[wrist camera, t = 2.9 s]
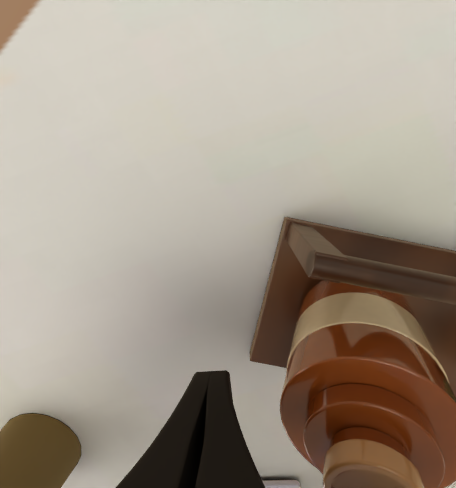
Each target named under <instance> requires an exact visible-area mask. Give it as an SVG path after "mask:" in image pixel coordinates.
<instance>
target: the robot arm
mask: <svg viewBox="0 0 456 488" xmlns="http://www.w3.org/2000/svg"><path fill="white" fill-rule="evenodd" d="M116 488H301V486H300V483H299V482H298V481H297V480H266V481H262V479H261V477H260V475H259V473H258V471H257V469H256V466H255V464H254V462H253V459H252V457H251V455H250V452H249V450H248V447H247V445H246V442H245V440H244V437H243V434H242V431H241V429H240V426H239V423H238V419H237V416H236V412H235V409H234V405H233V399H232V391H231V382H230V374H229V372H228V371H226V370H225V371H207V372H196V373H195V374H194V376H193V378H192V380H191V382H190V384H189V386H188V388H187V389H186V391H185V393H184V395H183V397H182V398H181V400H180V402H179V403H178V405H177V407H176V408H175V410H174V411H173V413H172V415H171V416H170V418H169V419H168V421H167V422H166V424H165V425H164V427H163V428H162V430H161V431H160V433H159V434H158V436H157V437H156V438H155V440H154V441H153V443H152V444H151V445H150V447H149V448H148V449H147V451H146V452H145V453H144V455H143V456H142V457H141V458H140V460H139V461H138V462H137V463H136V465H135V466H134V467H133V468H132V469H131V471H130V472H129V473H128V474H127V475H126V476H125V478H124V479H123V480H122V481H121V482H120V483H119V485H118V486H117V487H116Z"/></svg>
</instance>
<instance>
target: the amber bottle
mask: <svg viewBox="0 0 456 488" xmlns="http://www.w3.org/2000/svg"><path fill="white" fill-rule="evenodd" d="M280 414H281V420H282V423H283V426H284V429H285V431H286V433H287V436H288V437H289V439H290V441H291V442H292V444H293V445H294V446H295V448H296V449H297V450H298V451H299V452H300V454H301V455H302V456H303V457H304V458H305V459H306V460H308V461H309V462H310V463H311V464H312V465H313V466H315V467H316V468H317V469H318V470H319V471H320V472H321V473H322V474H323V487H324V488H445V487H447V486H449V485H451V484H452V483H453V482H455V481H456V396H455V394H454V392H453V390H452V388H451V386H450V383H449V380H448V377H447V374H446V372H445V370H444V368H443V367H442V365H441V363H440V361H439V359H438V357H437V355H436V353H435V351H434V349H433V347H432V345H431V343H430V341H429V339H428V337H427V335H426V333H425V331H424V329H423V327H422V326H421V325H420V323H419V322H418V320H417V318H416V316H415V314H414V312H413V310H412V308H411V306H410V304H409V302H408V301H407V300H406V298H405V297H404V296H403V295H402V294H397V293H392V292H387V291H382V290H377V289H372V288H367V287H361V286H356V285H351V284H346V283H341V282H340V283H334V282H329V281H322V282H320V283H318V284H317V285H315V286H314V287H313V288H312V289H311V290H310V291H309V292H308V293H307V295H306V296H305V298H304V300H303V302H302V305H301V308H300V313H299V317H298V322H297V324H296V327H295V331H294V335H293V340H292V344H291V348H290V353H289V357H288V362H287V372H286V377H285V382H284V386H283V391H282V395H281V400H280Z"/></svg>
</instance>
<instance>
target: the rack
mask: <svg viewBox="0 0 456 488" xmlns="http://www.w3.org/2000/svg"><path fill="white" fill-rule="evenodd" d="M322 281H329V282H334V283H340V282H341V283H346V284H351V285H356V286H361V287H367V288H372V289H377V290H382V291H387V292H392V293H397V294H402V295H403V296H404V297H405V298H406V300H407V301H408V302H409V304H410V306H411V308H412V310H413V312H414V314H415V316H416V318H417V320H418V322H419V323H420V325H421V326H422V327H423V329H424V331H425V333H426V335H427V337H428V339H429V341H430V343H431V345H432V347H433V349H434V351H435V353H436V355H437V357H438V359H439V361H440V363H441V365H442V367H443V368H444V370H445V372H446V374H447V377H448V380H449V383H450V386H451V388H452V390H453V392H454V394H455V396H456V251H453V250H448V249H443V248H438V247H433V246H428V245H423V244H418V243H413V242H408V241H403V240H398V239H393V238H388V237H383V236H378V235H373V234H368V233H363V232H358V231H353V230H348V229H343V228H338V227H333V226H328V225H323V224H318V223H313V222H308V221H303V220H298V219H293V218H288V217H285V218H284V222H283V225H282V229H281V233H280V237H279V241H278V245H277V249H276V252H275V256H274V260H273V264H272V268H271V272H270V276H269V280H268V283H267V287H266V291H265V295H264V299H263V303H262V307H261V311H260V314H259V318H258V322H257V326H256V330H255V334H254V338H253V342H252V345H251V349H250V361H253V362H258V363H264V364H269V365H274V366H279V367H285V368H287V362H288V357H289V353H290V348H291V344H292V340H293V335H294V331H295V327H296V324H297V322H298V317H299V313H300V308H301V305H302V302H303V300H304V298H305V296H306V295H307V293H308V292H309V291H310V290H311V289H312V288H313V287H314V286H315V285H317V284H318V283H320V282H322Z"/></svg>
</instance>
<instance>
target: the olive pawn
mask: <svg viewBox="0 0 456 488" xmlns="http://www.w3.org/2000/svg"><path fill="white" fill-rule="evenodd" d="M80 456H81V445H80V443H79V441H78V438H77V436H76V435H75V434H74V433H73V432H72V430H71V429H70V428H69V427H68V426H66V425H65V424H63V423H62V422H60V421H59V420H57V419H54V418H52V417H49V416H46V415H41V414H33V413H31V414H23V415H19V416H17V417H14V418H12V419H10V420H9V421H8V422H7V424H6V425H5V426H4V427H3V428H2V430H1V431H0V488H61V487H62V485H63V484H64V482H65V481H66V479H67V478H68V476H69V475H70V473H71V472H72V471H73V469H74V468H75V466H76V465H77V463H78V461H79V459H80Z"/></svg>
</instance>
